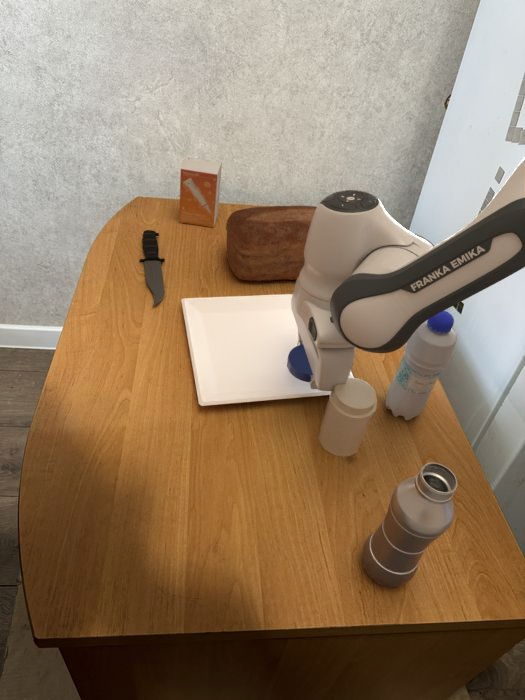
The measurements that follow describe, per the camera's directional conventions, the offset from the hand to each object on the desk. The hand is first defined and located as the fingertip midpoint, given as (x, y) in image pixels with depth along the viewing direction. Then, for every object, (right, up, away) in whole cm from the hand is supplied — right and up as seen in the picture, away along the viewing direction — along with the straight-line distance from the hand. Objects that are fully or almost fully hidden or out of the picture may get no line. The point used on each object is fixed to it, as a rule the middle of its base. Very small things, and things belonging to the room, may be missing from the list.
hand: (308, 367), depth 85 cm
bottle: (+15, -7, +1) cm, 17 cm away
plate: (-7, +3, +7) cm, 11 cm away
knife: (-29, +19, +20) cm, 40 cm away
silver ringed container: (+8, -25, -19) cm, 32 cm away
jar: (+4, -11, -5) cm, 13 cm away
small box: (-22, +33, +37) cm, 54 cm away
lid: (0, +1, -1) cm, 1 cm away
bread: (-2, +21, +27) cm, 34 cm away
